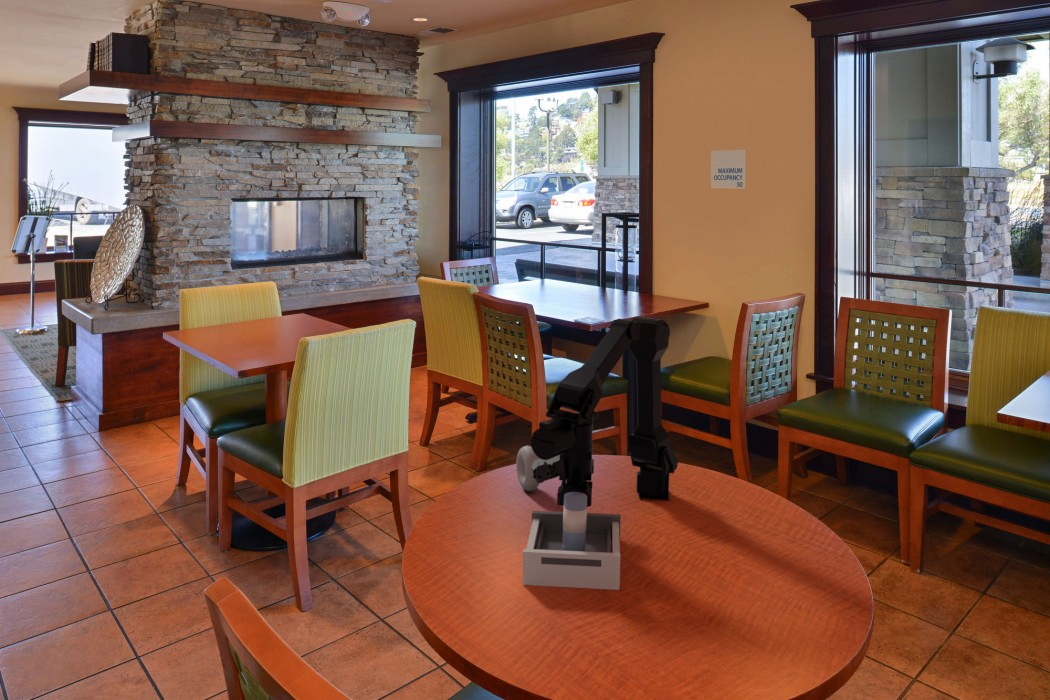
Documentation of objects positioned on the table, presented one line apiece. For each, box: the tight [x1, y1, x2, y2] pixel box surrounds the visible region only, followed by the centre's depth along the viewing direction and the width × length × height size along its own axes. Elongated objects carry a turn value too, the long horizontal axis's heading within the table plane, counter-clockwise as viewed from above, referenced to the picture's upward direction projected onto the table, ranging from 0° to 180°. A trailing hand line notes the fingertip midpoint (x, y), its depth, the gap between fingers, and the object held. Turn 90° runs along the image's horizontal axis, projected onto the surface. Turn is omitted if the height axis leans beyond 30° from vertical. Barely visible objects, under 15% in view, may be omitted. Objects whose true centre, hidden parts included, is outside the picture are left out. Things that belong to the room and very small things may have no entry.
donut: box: [515, 445, 540, 492], centre depth 175 cm, size 10×4×10 cm, turn 18°
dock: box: [522, 519, 621, 591], centre depth 141 cm, size 18×16×6 cm
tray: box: [531, 510, 622, 553], centre depth 142 cm, size 18×17×5 cm
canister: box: [562, 492, 588, 552], centre depth 138 cm, size 4×4×12 cm
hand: (575, 521), depth 153 cm, fingers closed
